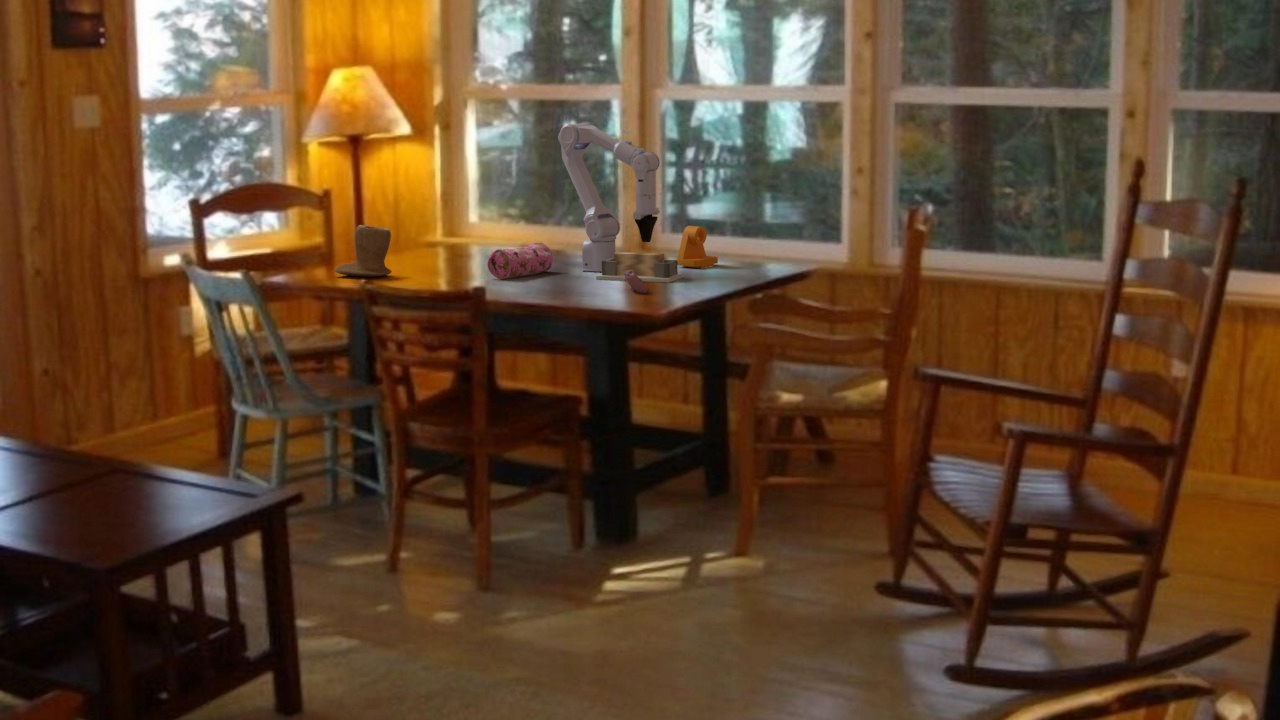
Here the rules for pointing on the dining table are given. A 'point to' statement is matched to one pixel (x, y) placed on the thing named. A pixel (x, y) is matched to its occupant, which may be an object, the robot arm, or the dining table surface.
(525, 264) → the pencil case
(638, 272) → the wooden block
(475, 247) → the dining table surface
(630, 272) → the pink rounded piece
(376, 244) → the top hat
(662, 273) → the cradle
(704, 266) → the bracket
